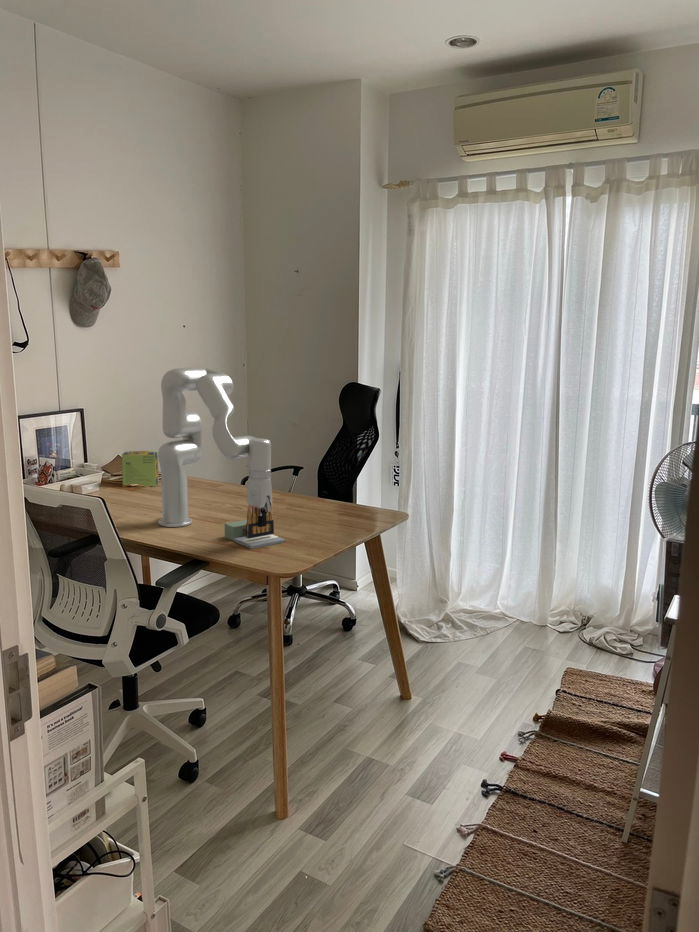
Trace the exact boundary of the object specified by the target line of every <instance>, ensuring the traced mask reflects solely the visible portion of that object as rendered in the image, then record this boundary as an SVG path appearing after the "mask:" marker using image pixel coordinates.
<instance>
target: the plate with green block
mask: <svg viewBox="0 0 699 932" xmlns="http://www.w3.org/2000/svg"><path fill="white" fill-rule="evenodd" d="M246 523H247V519H244V520H237V521H231V522H226V523H224V537H225V538H226V539H228V540H230V541H233V542H234V543H237V544H239V545H242V546H243V547H246V548H248V549H250V550H253V549H259V548H264V547H269V546H274V545H279V544H284V543H286V539H285V538H282V537H280V536H278V535H275V534H270V535H265V536H259V537H254V538H246Z"/></svg>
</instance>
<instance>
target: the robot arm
mask: <svg viewBox="0 0 699 932" xmlns="http://www.w3.org/2000/svg"><path fill="white" fill-rule="evenodd" d="M160 388H161V396H162V432H163V434H164V436H166V437H167V438H170V439H177V438H182V439H180V440H179V439H178V440H172V441H167V442H165V443H163V444H162V445H161V446H160V447H159V449H158V450H157V451H158V464H159V467H160V477H161V478H160V479H161V508H162V509H161V512H160V513H161V514H162V515H161V517H162V518H159V520H157V521H158V525H159V526H162V527H167V528H179V527H186V526H189V525H191V524H192V523H193V519H192V518H191V517H189V503H188V501H189V500H188V476H187V472H186V471H185V469H184V467H183V466H185V465H191V464H193V463H197V462H199V460H200V459H201V458H202V454H203V433H204V432H203V422H202V419H201V416H200V415H199V414H198V413H197V412H196V411H193V410H187V400H186V396H185V395H184V393H183V392H192V391H197V393H198V395H199V397H200V398H201V400H202V402H203V403H204V405H205V407H206V409H207V410H208V412H209V414H210V416H211V417H212V426H211V427H212V437H213V441H214V443H215V444H216V446H217V448H218V449H219V451H220V453H221V454H222V455H223V457H224V458H226V459H228V460H230V461H231V460H232V461H233V460H234V461H235V460H239V459H244V458H248V479H247V487H246V503H247V505H249V504H250V507H251V508H252V506H253V505H254V507H255V512H256V508H259V516H258V527H264V526H266V515H267V513H268V512H270V511H271V506H272V507H273V490H272V489H273V487H272V480H271V479H272V443H271V440H270V439H267V438H261V437H260V438H258V437H255V436H252V435H243V436H242V435H241V436H235V437H233V435H232V434H231V433H230V431H229V428H228V425H227V422H228V419H229V418H230V417H231V416H233V414H234V412H235V406H234V403H232V400H231V399H230V397H229V396H230V395H231V394H232V392H233V391H234V382H233V380H232V378H231V377H230V376H229V375H227V374H226V373H224V372H221V371H217V370H213V369H210V368H207V367H202V366H201V367H200V366H199V367H198V366H197V367H195V366H194V367H178V368H173V369H169V370H168V371H166V372H165V374H164V375H163V376H162V378H161V380H160ZM262 509H263V510H262Z"/></svg>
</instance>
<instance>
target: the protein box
mask: <svg viewBox="0 0 699 932" xmlns="http://www.w3.org/2000/svg"><path fill="white" fill-rule="evenodd" d="M158 451H159V450H130V451H129V450H126V451H124V452H123V453H122V454H121V469H122V471H121V472H122V486H123V485H128V484H139V485H144V486H156V485H157V486H158V484H159V483H158V482H160V481H159V459H158ZM157 486H156V487H157Z"/></svg>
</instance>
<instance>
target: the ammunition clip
mask: <svg viewBox="0 0 699 932" xmlns="http://www.w3.org/2000/svg"><path fill="white" fill-rule="evenodd" d="M262 510H263V509H262ZM273 514H274V512H273V505H272V506H271V511H270V512H268V513H267V515H266V526H264V527H258V516H259V508H256V512H255V507H254V505H253V506H252V507H251V506H250V504H247V514H246V520H247V523H246V538H254V537H259V536H265V535H270V534H273V535H275V527H274V526H275V522H274V518H273V517H274V515H273Z"/></svg>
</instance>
